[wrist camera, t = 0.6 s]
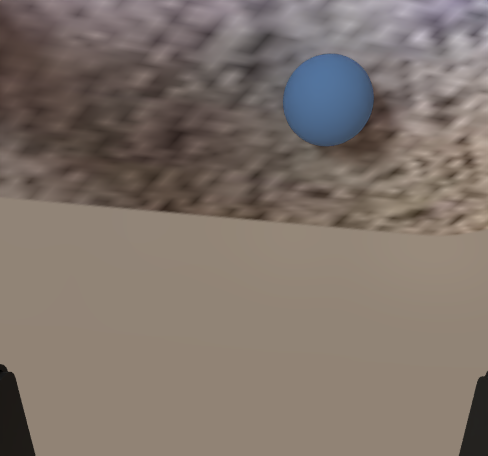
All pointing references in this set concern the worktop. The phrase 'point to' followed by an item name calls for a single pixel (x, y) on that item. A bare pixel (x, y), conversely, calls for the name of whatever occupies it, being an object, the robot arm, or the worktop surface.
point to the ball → (328, 99)
